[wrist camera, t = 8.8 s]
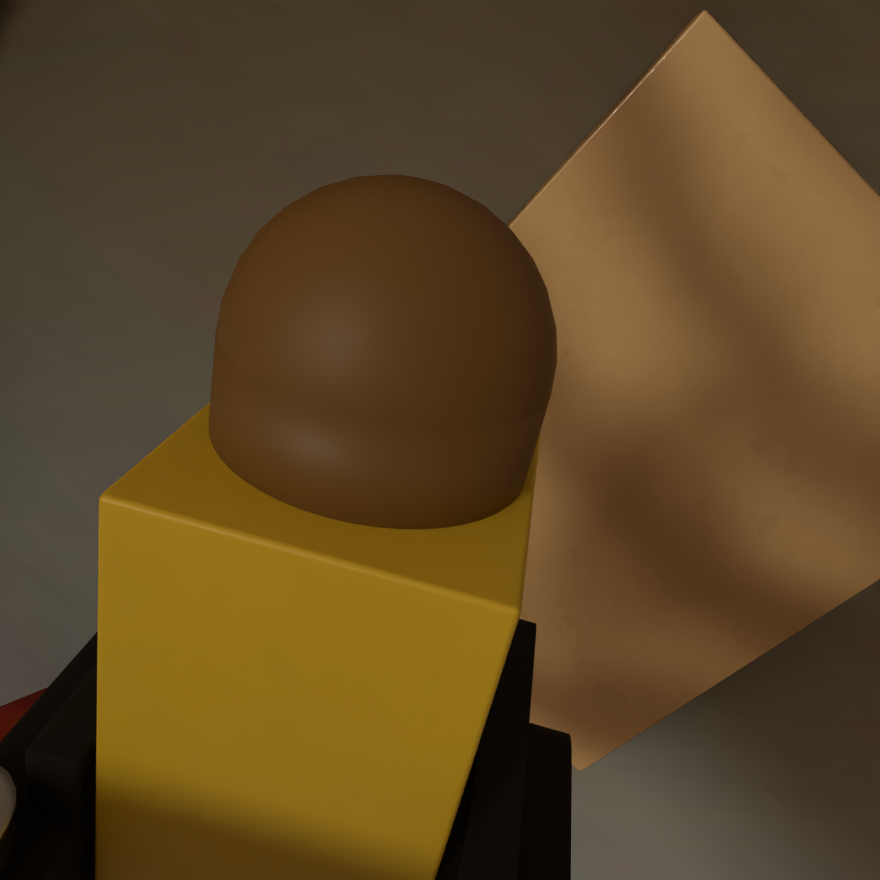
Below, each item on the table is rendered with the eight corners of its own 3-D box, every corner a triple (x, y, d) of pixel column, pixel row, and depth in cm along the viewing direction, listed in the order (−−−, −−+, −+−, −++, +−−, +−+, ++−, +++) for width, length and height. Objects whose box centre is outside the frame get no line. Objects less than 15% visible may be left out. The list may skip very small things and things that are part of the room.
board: (696, 13, 20) (705, 8, 19) (1073, 415, 22) (1104, 436, 21) (268, 488, 28) (252, 508, 27) (580, 742, 31) (580, 772, 29)
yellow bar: (311, 125, 8) (98, 151, 5) (604, 196, 8) (630, 283, 4) (214, 912, 14) (89, 1193, 11) (380, 963, 14) (311, 1265, 10)
